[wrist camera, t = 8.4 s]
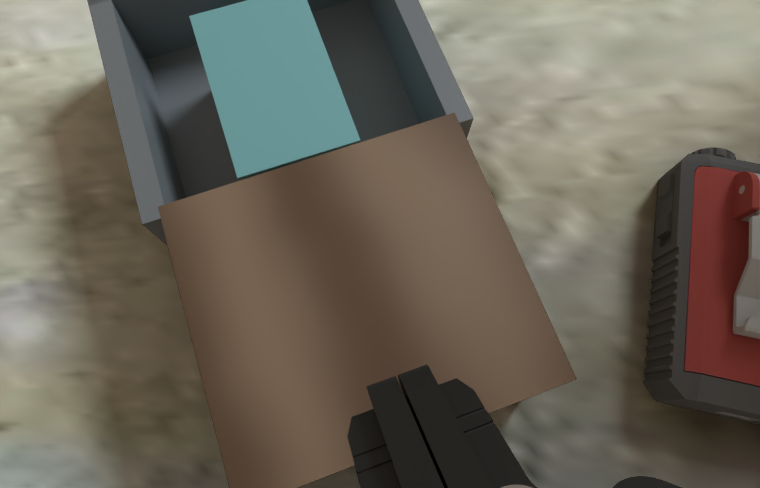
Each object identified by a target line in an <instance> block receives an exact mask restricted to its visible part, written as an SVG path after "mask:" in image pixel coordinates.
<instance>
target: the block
mask: <svg viewBox="0 0 760 488" xmlns="http://www.w3.org/2000/svg"><path fill="white" fill-rule="evenodd" d="M189 17H190V20H191V24H192V27H193V31H194V34H195V37H196V41H197V44H198V47H199V51H200V54H201V57H202V61H203V64H204V67H205V71H206V74H207V78H208V81H209V84H210V88H211V91H212V94H213V98H214V101H215V104H216V108H217V111H218V115H219V118H220V121H221V125H222V128H223V131H224V135H225V138H226V141H227V145H228V148H229V151H230V155H231V158H232V162H233V165H234V168H235V172H236V175H237V178H238V180H239V181H240V180H243V179H247V178H250V177H253V176H256V175H259V174H262V173H266V172H269V171H272V170H275V169H278V168H281V167H284V166H288V165H291V164H294V163H297V162H300V161H303V160H306V159H310V158H313V157H316V156H319V155H322V154H325V153H329V152H332V151H335V150H338V149H341V148H344V147H347V146H351V145H354V144H357V143H360V142H361V141H360V138H359V135H358V132H357V130H356V127H355V124H354V122H353V119H352V117H351V114H350V111H349V109H348V106H347V103H346V101H345V98H344V96H343V93H342V90H341V88H340V85H339V82H338V80H337V77H336V75H335V72H334V69H333V67H332V64H331V61H330V59H329V56H328V54H327V51H326V48H325V46H324V43H323V40H322V38H321V35H320V33H319V30H318V27H317V25H316V22H315V19H314V17H313V14H312V12H311V9H310V6H309V4H308V1H307V0H246V1H243V2H239V3H235V4H232V5H228V6H224V7H221V8H217V9H213V10H209V11H206V12H202V13H198V14H195V15H191V16H189Z"/></svg>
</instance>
